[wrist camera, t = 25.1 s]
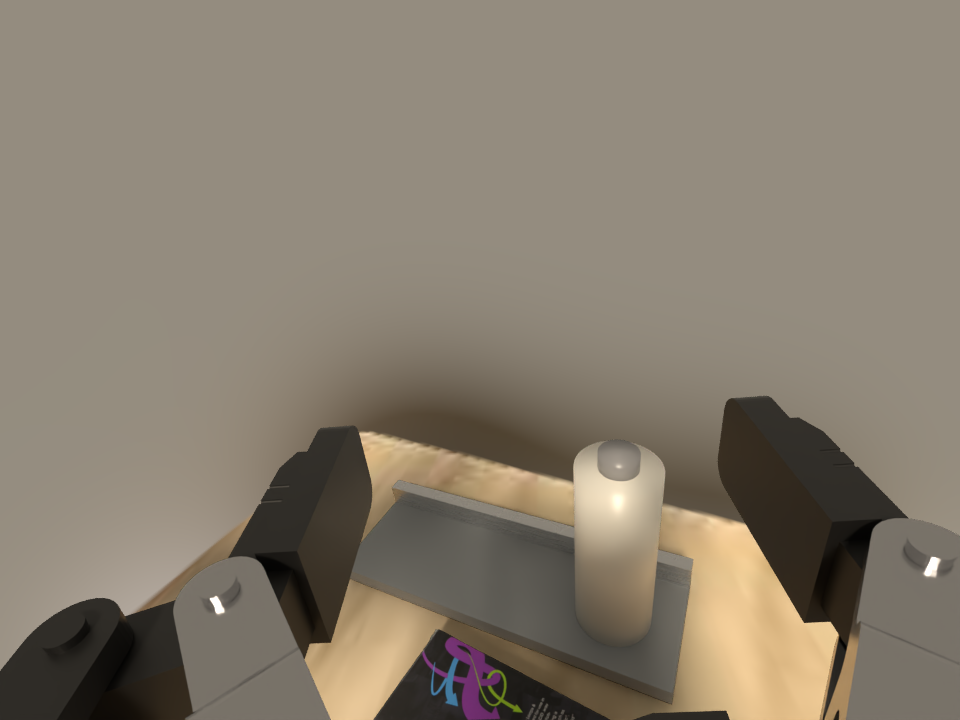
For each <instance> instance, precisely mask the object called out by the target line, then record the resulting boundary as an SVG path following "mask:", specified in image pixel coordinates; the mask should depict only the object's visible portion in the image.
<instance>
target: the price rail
mask: <svg viewBox="0 0 960 720" xmlns="http://www.w3.org/2000/svg"><path fill="white" fill-rule="evenodd" d="M392 490H393V494H394V499H395V503H398V504H402V505H405V506H409V507H412V508H415V509H419V510H422V511H426V512H429V513H433V514H436V515H439V516H443V517H446V518H450V519H453V520H456V521H460V522H463V523H467V524H470V525H473V526H477V527H480V528H484V529H487V530H490V531H494V532H497V533H501V534H504V535H508V536H511V537H514V538H518V539H521V540H525V541H528V542H531V543H535V544H538V545H542V546H545V547H548V548H552V549H555V550H559V551H562V552H566V553H569V554H572V555H575V543H574V527H572V526H568V525H565V524H561V523H557V522H553V521H550V520H546V519H542V518H539V517H535V516H531V515H527V514H524V513H520V512H516V511H512V510H509V509H505V508H501V507H498V506H494V505H490V504H486V503H483V502H479V501H475V500H472V499H468V498H464V497H460V496H457V495H453V494H449V493H446V492H442V491H438V490H434V489H431V488H427V487H423V486H419V485H416V484H412V483H408V482H405V481H401V480H398V481H397V482H396V483H395V485H394V486H393V487H392ZM692 566H693V559H691V558H687V557H684V556H680V555H676V554H672V553H669V552H665V551H661V550H658V556H657V566H656V577H655V579H658V580H661V581H664V582H668V583H671V584H675V585H678V586H682V587H685V588H688V589H689V588H690V582H691V575H692Z"/></svg>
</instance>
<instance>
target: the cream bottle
mask: <svg viewBox="0 0 960 720" xmlns="http://www.w3.org/2000/svg"><path fill="white" fill-rule="evenodd" d="M664 482H665V468H664V465H663V463H662V461H661V460H660V459H659V458H658V457H657V456H656V454H654V453H653V452H652V451H650V450H649V449H647V448H645V447H643V446H640V445H638V444H635V443H631V442H628V441H625V440H610V441H602V442H598V443H594V444H592V445H589V446H587V447H586V448H584V449H583V450H582V451H580V452H579V454H578V455H577V457H576V458H575V461H574V543H575V612H576V617H577V620H578V622H579V624H580V626H581V627H582V629H583V630H584V631H585V632H586V633H587V634H588V635H589V636H590V637H591V638H593V639H594V640H596V641H598V642H600V643H602V644H605V645H608V646H613V647H626V646H630V645H633V644H635V643H637V642H639V641H640V640H642V639H643V638H644V637H645V636H646V634H647V633H648V631H649V629H650V626H651V619H652V609H653V598H654V588H655V577H656V566H657V556H658V545H659V535H660V524H661V514H662V503H663V492H664Z"/></svg>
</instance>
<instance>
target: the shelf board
mask: <svg viewBox="0 0 960 720" xmlns="http://www.w3.org/2000/svg"><path fill="white" fill-rule="evenodd" d="M350 579H352V580H354V581H357V582H359V583H362V584H364V585H367V586H370V587H372V588H375V589H377V590H380V591H382V592H385V593H387V594H390V595H393V596H395V597H398V598H400V599H403V600H405V601H408V602H411V603H413V604H416V605H418V606H421V607H423V608H426V609H428V610H431V611H434V612H436V613H439V614H441V615H444V616H446V617H449V618H452V619H454V620H457V621H459V622H462V623H464V624H467V625H469V626H472V627H475V628H477V629H480V630H482V631H485V632H487V633H490V634H493V635H495V636H498V637H500V638H503V639H505V640H508V641H511V642H513V643H516V644H518V645H521V646H523V647H526V648H528V649H531V650H534V651H536V652H539V653H541V654H544V655H546V656H549V657H552V658H554V659H557V660H559V661H562V662H564V663H567V664H569V665H572V666H575V667H577V668H580V669H582V670H585V671H587V672H590V673H593V674H595V675H598V676H600V677H603V678H605V679H608V680H610V681H613V682H616V683H618V684H621V685H623V686H626V687H628V688H631V689H634V690H636V691H639V692H641V693H644V694H646V695H649V696H651V697H654V698H657V699H659V700H662V701H664V702H667V703H669V704H672V700H673V693H674V687H675V681H676V674H677V668H678V661H679V655H680V648H681V642H682V635H683V629H684V623H685V616H686V610H687V603H688V597H689V590H690V588H689V589H688V588H685V587H682V586H678V585H675V584H671V583H668V582H664V581H661V580H658V579H655V588H654V598H653V609H652V619H651V626H650V629H649V631H648V633H647V634H646V636H645V637H644V638H643V639H642V640H640V641H639V642H637V643H635V644H633V645H630V646H626V647H613V646H608V645H605V644H602V643H600V642H598V641H596V640H594V639H593V638H591V637H590V636H589V635H588V634H587V633H586V632H585V631H584V630H583V629H582V627H581V626H580V624H579V622H578V620H577V617H576V612H575V555H572V554H569V553H566V552H562V551H559V550H555V549H552V548H548V547H545V546H542V545H538V544H535V543H531V542H528V541H525V540H521V539H518V538H514V537H511V536H508V535H504V534H501V533H497V532H494V531H490V530H487V529H484V528H480V527H477V526H473V525H470V524H467V523H463V522H460V521H456V520H453V519H450V518H446V517H443V516H439V515H436V514H433V513H429V512H426V511H422V510H419V509H415V508H412V507H409V506H405V505H402V504H398V503H395V504H394V505H393V506H392V507H391V508H390V510H389V511H388V512H387V513H386V514H385V515H384V517H383V518H382V519H381V520H380V521H379V522H378V524H377V525H376V526H375V527H374V528H373V529H372V531H371V532H370V533H369V534H368V535H367V537H366V538H365V539H364V540H363V541H362V542H361V544H360V546H359V549H358V552H357V556H356V559H355V562H354V566H353V569H352V573H351V576H350ZM690 584H691V582H690Z"/></svg>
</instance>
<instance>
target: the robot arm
mask: <svg viewBox="0 0 960 720" xmlns="http://www.w3.org/2000/svg"><path fill="white" fill-rule="evenodd" d="M718 469H719V474H720V478H721V481H722V484H723V486H724V488H725V489H726V491H727V493H728V495H729V496H730V498H731V500H732V501H733V503H734V505H735V507H736V508H737V510H738V512H739V513H740V515H741V517H742V518H743V520H744V522H745V523H746V525H747V527H748V529H749V530H750V532H751V534H752V535H753V537H754V539H755V540H756V542H757V544H758V546H759V547H760V549H761V551H762V552H763V554H764V556H765V557H766V559H767V561H768V562H769V564H770V566H771V568H772V569H773V571H774V573H775V574H776V576H777V578H778V579H779V581H780V583H781V585H782V586H783V588H784V590H785V591H786V593H787V595H788V596H789V598H790V600H791V602H792V603H793V605H794V607H795V608H796V610H797V612H798V613H799V615H800V617H801V618H802V620H803V622H804V623H811V622H831V623H832V624H833V626H834V627H835V629H836V631H837V632H838V637H837V640H836V643H835V646H834V651H833V656H832V661H831V666H830V670H829V675H828V680H827V685H826V690H825V695H824V700H823V705H822V710H821V715H820V720H960V536H959V535H957V534H955V533H953V532H952V531H950V530H947V529H945V528H943V527H940V526H938V525H935V524H932V523H928V522H924V521H921V520H915V519H909V518H908V517H907V516H906V515H905V514H904V513H902V511H901V510H900V509H899V508H898V507H897V506H896V505H895V504H894V503H893V502H892V501H891V500H890V499H889V498H888V497H887V496H886V495H885V494H884V493H883V492H882V491H881V490H880V489H879V488H878V487H877V486H876V485H875V484H874V483H873V482H872V481H871V480H870V479H869V478H868V477H867V476H866V475H865V474H864V473H863V472H862V471H861V470H860V469H859V467H855V466H854V462H853V461H852V460H851V459H850V458H849V457H848V456H847V455H846V454H845V453H844V452H840V448H839V447H838V446H837V445H836V444H835V443H834V442H833V441H832V440H831V439H830V438H829V437H828V436H827V435H826V434H825V433H824V432H823V431H821V430H820V429H818V428H816V427H814V426H812V425H811V424H809V423H807V422H805V421H804V420H802V419H800V418H789V417H788V416H787V414H786V413H785V412H784V411H783V410H782V409H781V408H780V407H779V406H778V405H777V404H776V402H775V401H774V400H773V399H772V398H770V397H769V396H757V397H745V398H731V399H729V400H728V401H727V402H726V405H725V409H724V416H723V423H722V431H721V439H720V446H719V454H718ZM371 503H372V484H371V478H370V474H369V470H368V466H367V463H366V459H365V455H364V451H363V447H362V443H361V439H360V435H359V432H358V430H357V428H356V427H355V426H343V427H329V428H320V429H319V430H318V432H317V434H316V436H315V438H314V439H313V442H312V443H311V445H310V448H309V449H308V451H307V452H297V453H296V454H295V455H294V456H293V457H292V458H290V459H289V460H288V461H287V462H286V463H285V464H284V465H283V466H282V467H280V468H279V470H278V472H277V474H276V476H275V477H274V479H273V481H272V482H271V484H270V489H267V491H266V493H265V495H264V496H263V498H262V500H261V504H259V505H258V507H257V509H256V510H255V512H254V514H253V516H252V517H251V519H250V521H249V523H248V524H247V526H246V528H245V530H244V531H243V533H242V535H241V537H240V538H239V540H238V542H237V544H236V545H235V547H234V549H233V551H232V552H231V554H230V556H229V558H227V559H224V560H221V561H218V562H216V563H214V564H212V565H210V566H208V567H206V568H205V569H203V570H202V571H200V572H199V573H198V574H196V575H195V576H194V577H193V578H192V579H191V580H190V581H189V582H188V583H187V584H186V585H185V586H184V587H183V589H182V590H181V591H180V593H179V595H178V596H177V598H176V600H174V601H172V602H169V603H166V604H162V605H159V606H156V607H153V608H150V609H147V610H144V611H141V612H137V613H134V614H131V615H128V616H124V614H123V613H122V611H121V610H120V608H119V606H118V605H117V604H116V603H115V602H114V601H112V600H110V599H105V598H95V599H90V600H86V601H82V602H79V603H77V604H74V605H72V606H70V607H68V608H66V609H64V610H62V611H60V612H58V613H57V614H55V615H53V616H52V617H51V618H49V619H48V620H46V621H45V622H44V623H42V624H41V625H40V626H39V627H38V628H37V629H35V630H34V631H33V632H32V633H31V634H30V635H29V636H28V637H27V639H26V640H25V641H24V642H23V643H22V644H21V646H20V647H19V648H18V649H17V651H16V652H15V653H14V654H13V656H12V657H11V658H10V659H9V661H8V662H7V663H6V665H5V666H4V667H3V668H2V669H1V671H0V720H331V719H330V717H329V715H328V712H327V710H326V708H325V706H324V703H323V701H322V699H321V696H320V694H319V692H318V690H317V687H316V685H315V683H314V680H313V678H312V676H311V674H310V671H309V669H308V667H307V664H306V662H305V660H304V659H305V656H306V653H307V650H308V647H309V644H310V643H331V640H332V637H333V634H334V630H335V627H336V623H337V620H338V617H339V613H340V610H341V607H342V603H343V600H344V596H345V593H346V590H347V586H348V583H349V579H350V576H351V573H352V569H353V566H354V562H355V559H356V556H357V552H358V549H359V546H360V542H361V539H362V535H363V532H364V529H365V525H366V522H367V518H368V515H369V512H370V508H371ZM478 720H507V719H478ZM634 720H730V719H729V717H728V714H727V711H705V712H676V713H652V714H649V715H646V716H643V717H640V718H637V719H634Z"/></svg>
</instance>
